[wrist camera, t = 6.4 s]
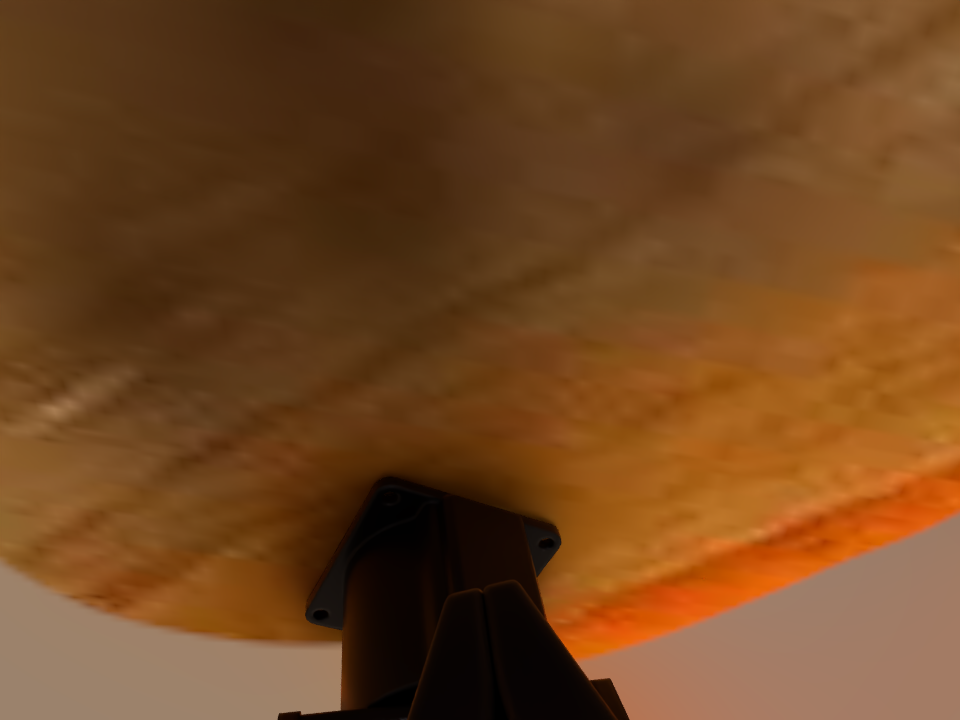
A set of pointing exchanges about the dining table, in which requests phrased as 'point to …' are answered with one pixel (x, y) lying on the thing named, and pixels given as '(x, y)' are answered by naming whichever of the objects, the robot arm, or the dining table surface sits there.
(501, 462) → the dining table surface
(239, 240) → the dining table surface
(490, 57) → the dining table surface
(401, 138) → the dining table surface
